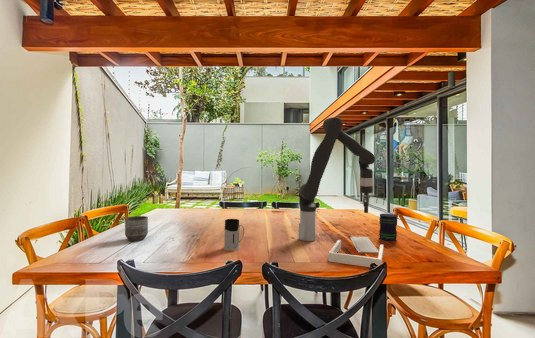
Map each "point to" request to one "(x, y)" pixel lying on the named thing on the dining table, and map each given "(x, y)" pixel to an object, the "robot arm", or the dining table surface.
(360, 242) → the baseboard
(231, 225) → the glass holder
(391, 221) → the storage jar
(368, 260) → the frame
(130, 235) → the planter
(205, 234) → the dining table surface
